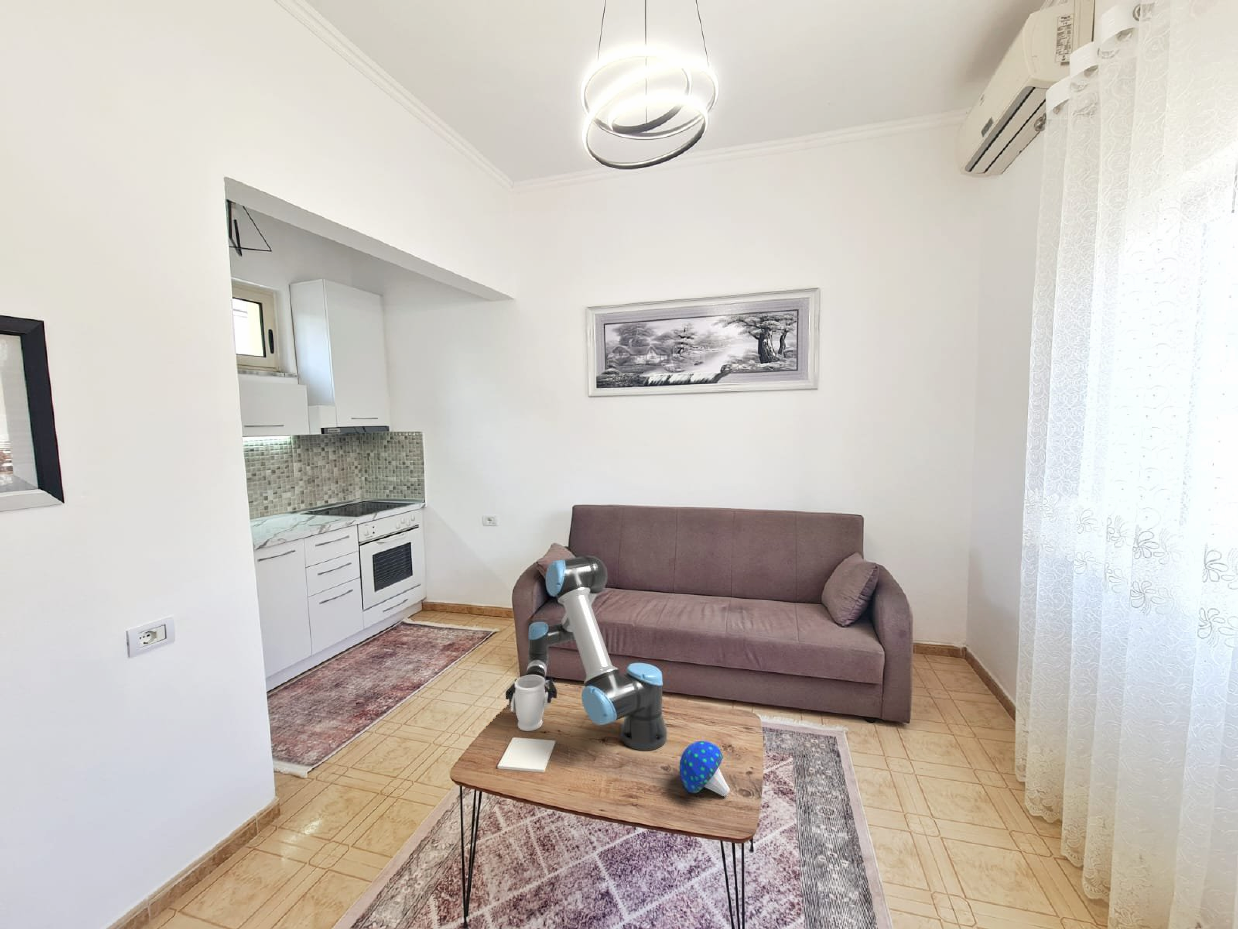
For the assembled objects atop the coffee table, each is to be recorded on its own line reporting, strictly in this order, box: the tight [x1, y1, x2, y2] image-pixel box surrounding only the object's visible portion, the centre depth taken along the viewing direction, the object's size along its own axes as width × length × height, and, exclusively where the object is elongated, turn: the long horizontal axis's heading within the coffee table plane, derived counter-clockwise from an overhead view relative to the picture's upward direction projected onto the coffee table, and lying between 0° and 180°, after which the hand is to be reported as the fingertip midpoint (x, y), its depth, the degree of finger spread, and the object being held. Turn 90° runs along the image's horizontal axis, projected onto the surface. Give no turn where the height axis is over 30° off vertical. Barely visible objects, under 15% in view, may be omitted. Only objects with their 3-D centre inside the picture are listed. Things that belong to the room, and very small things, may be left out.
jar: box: [514, 674, 546, 732], centre depth 167 cm, size 11×10×15 cm
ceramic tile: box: [497, 737, 556, 773], centre depth 151 cm, size 14×14×1 cm
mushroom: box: [679, 740, 731, 798], centre depth 137 cm, size 14×14×15 cm
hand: (528, 706), depth 163 cm, fingers closed on jar, 10 cm apart
